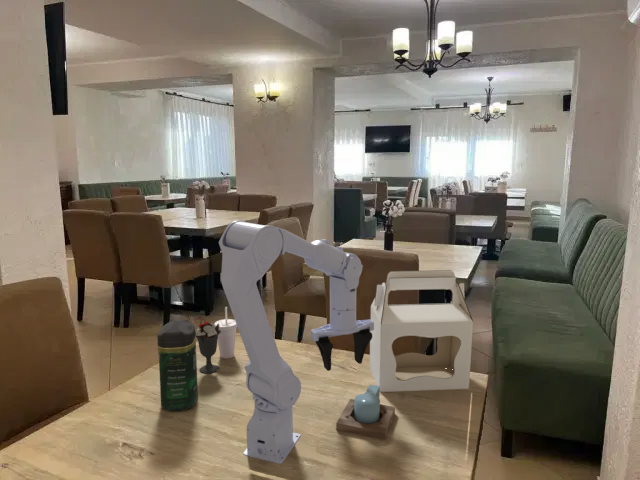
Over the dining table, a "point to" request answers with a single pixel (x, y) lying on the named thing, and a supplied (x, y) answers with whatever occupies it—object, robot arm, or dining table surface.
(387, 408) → the holder
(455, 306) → the gable box
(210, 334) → the sundae
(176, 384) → the coffee jar
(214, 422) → the dining table surface
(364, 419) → the light blue piece
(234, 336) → the smoothie
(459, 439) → the dining table surface
